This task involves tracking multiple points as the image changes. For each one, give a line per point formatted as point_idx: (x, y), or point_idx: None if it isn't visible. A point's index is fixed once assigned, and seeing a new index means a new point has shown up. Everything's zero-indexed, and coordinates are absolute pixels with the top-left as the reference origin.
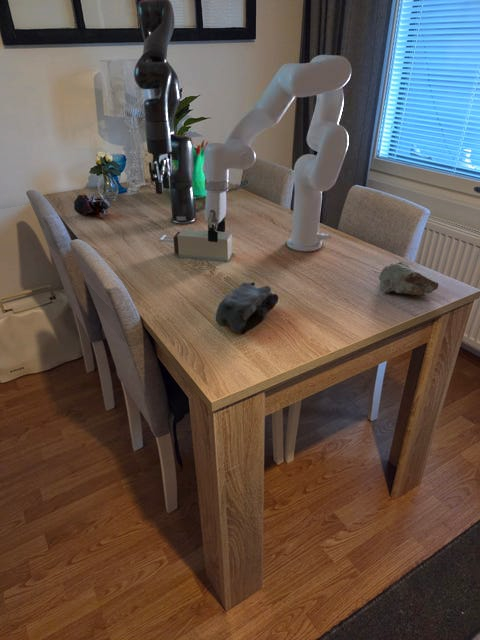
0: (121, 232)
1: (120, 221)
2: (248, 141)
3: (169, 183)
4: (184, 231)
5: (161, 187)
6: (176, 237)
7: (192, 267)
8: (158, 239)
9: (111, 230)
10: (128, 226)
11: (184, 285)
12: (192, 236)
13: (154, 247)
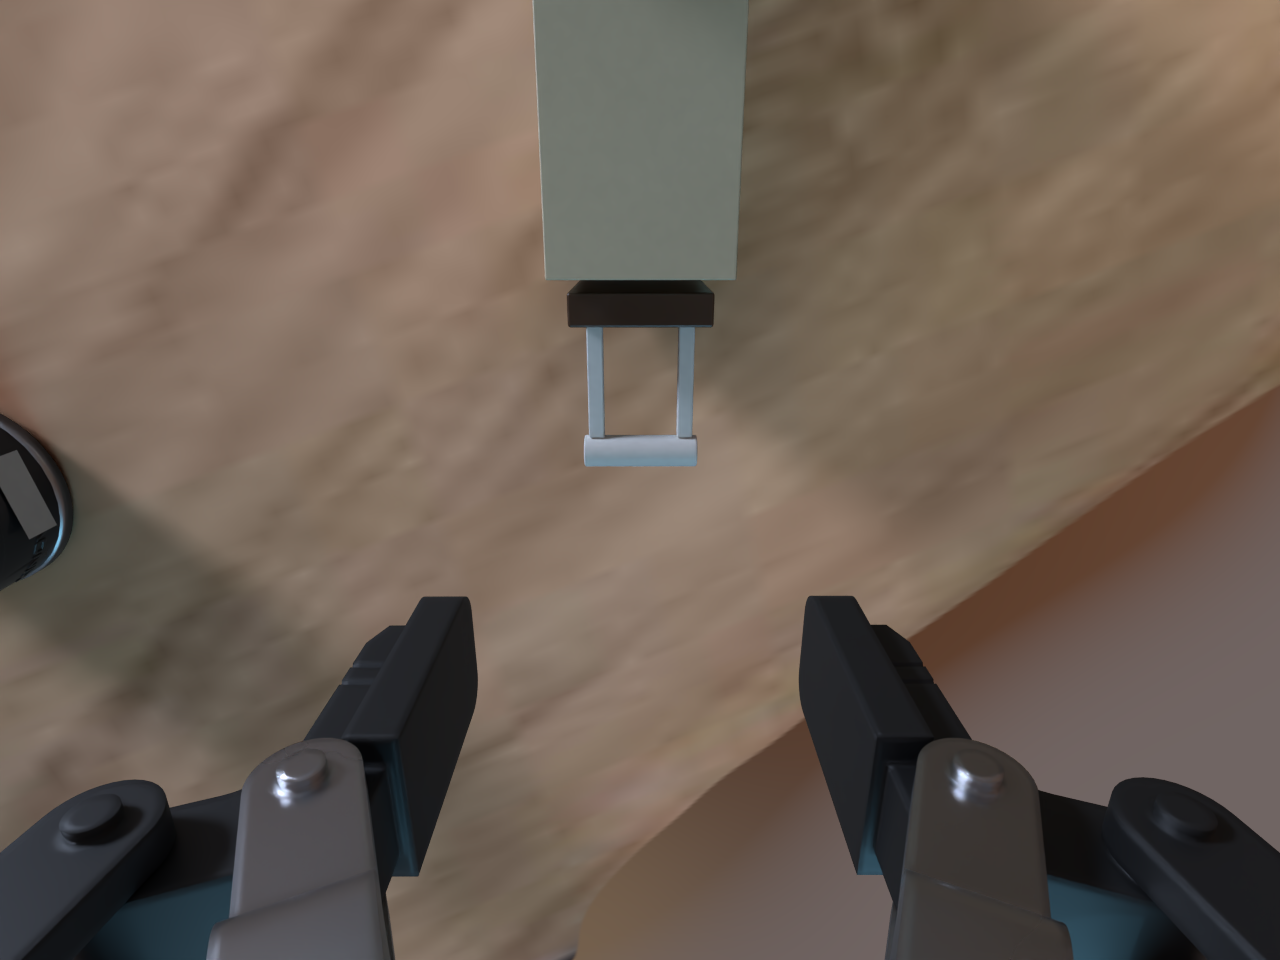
0: None
1: None
2: None
3: (419, 641)
4: (612, 243)
5: (885, 669)
6: (713, 295)
7: (900, 75)
8: (695, 464)
9: None
10: None
11: (1233, 29)
12: (737, 100)
13: (585, 506)
